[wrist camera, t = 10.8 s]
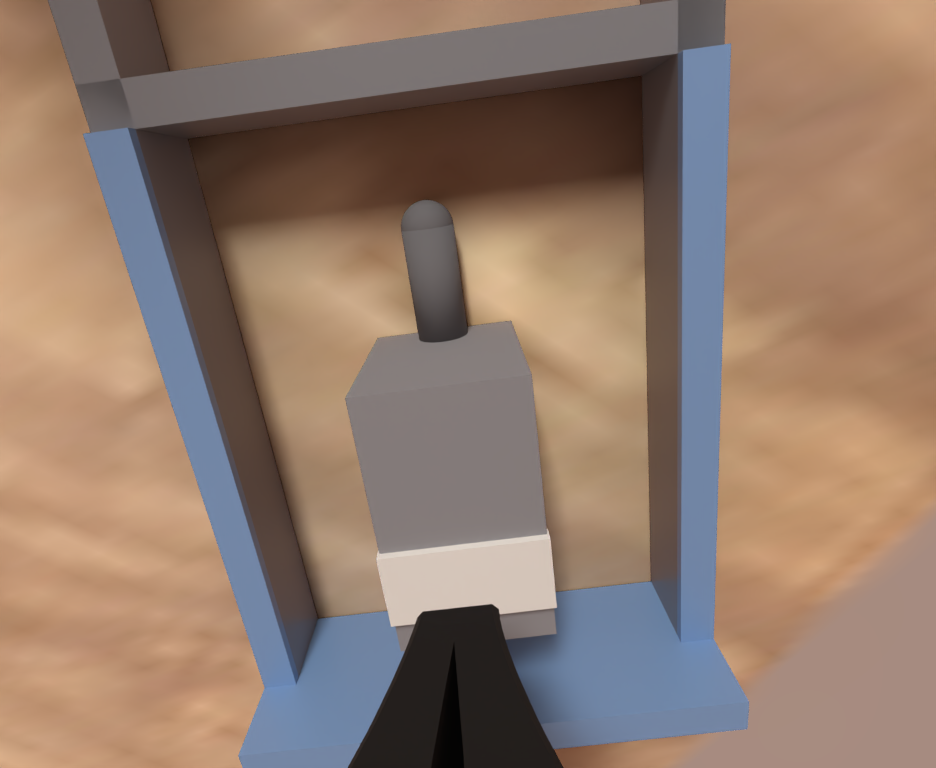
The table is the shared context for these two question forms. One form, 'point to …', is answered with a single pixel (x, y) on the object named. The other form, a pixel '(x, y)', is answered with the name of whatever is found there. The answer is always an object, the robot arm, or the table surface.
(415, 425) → the cord plug
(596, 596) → the grey divided rectangular frame
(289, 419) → the table surface
